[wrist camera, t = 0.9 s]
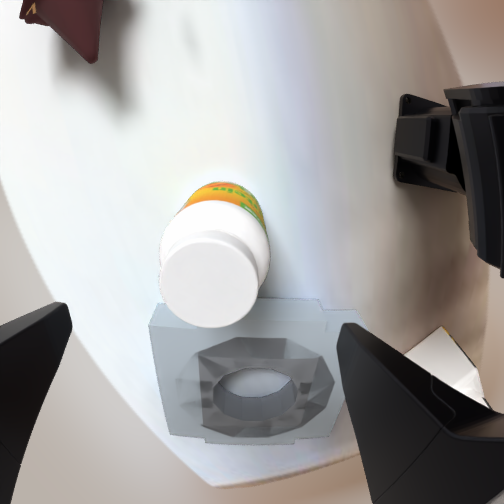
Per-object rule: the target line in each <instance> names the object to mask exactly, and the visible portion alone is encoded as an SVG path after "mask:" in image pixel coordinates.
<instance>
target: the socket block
mask: <svg viewBox="0 0 504 504" xmlns="http://www.w3.org/2000/svg"><path fill="white" fill-rule="evenodd" d="M351 322H354V323H357V324H358V325H360V326H361V327H363V328H364V329H366V330H367V331H368V329H367V327H366V326H365V324H364V322H363V320H362V318H361V317H360V315H359V313H358V312H357V310H323V309H322V307H321V304H320V302H319V300H318V299H280V298H256V301H255V303H254V305H253V307H252V308H251V310H250V311H249V312H248V313H247V314H246V315H245V316H244V317H243V318H242V319H240V320H239V321H237V322H235V323H233V324H231V325H228V326H225V327H220V328H203V327H198V326H194V325H192V324H189V323H187V322H185V321H183V320H182V319H180V318H179V317H177V316H176V315H175V314H174V313H173V312H172V311H171V310H170V309H169V308H168V306H167V305H166V304H159V303H158V304H157V307H156V309H155V311H154V313H153V316H152V318H151V320H150V322H149V325H148V327H149V333H150V340H151V346H152V352H153V358H154V363H155V369H156V374H157V379H158V384H159V389H160V394H161V399H162V404H163V408H164V412H165V417H166V421H167V425H168V429H169V433H170V435H176V436H185V437H195V438H205V443H210V444H229V445H285V444H294V442H295V439H308V438H320V437H329V435H330V433H331V430H332V428H333V426H334V424H335V421H336V419H337V417H338V414H339V412H340V409H341V407H342V404H343V402H344V399H345V395H344V392H343V387H342V381H341V375H340V369H339V363H338V357H337V351H336V345H337V340H338V337H339V333H340V329H341V326H342V324H343V323H351ZM244 368H271V369H273V370H276V371H278V372H280V373H283V374H285V375H287V376H290V377H291V381H290V382H288V383H287V384H286V385H285V386H284V387H283V388H282V389H281V390H280V391H279V392H276V393H273V394H271V395H268V396H265V397H262V398H250V397H240V396H237V395H235V394H233V393H230V392H228V391H225V390H224V388H223V387H222V386H221V385H220V384H219V383H218V382H219V381H220V380H221V379H222V377H223V376H224V375H227V374H230V373H233V372H236V371H239V370H241V369H244Z"/></svg>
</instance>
